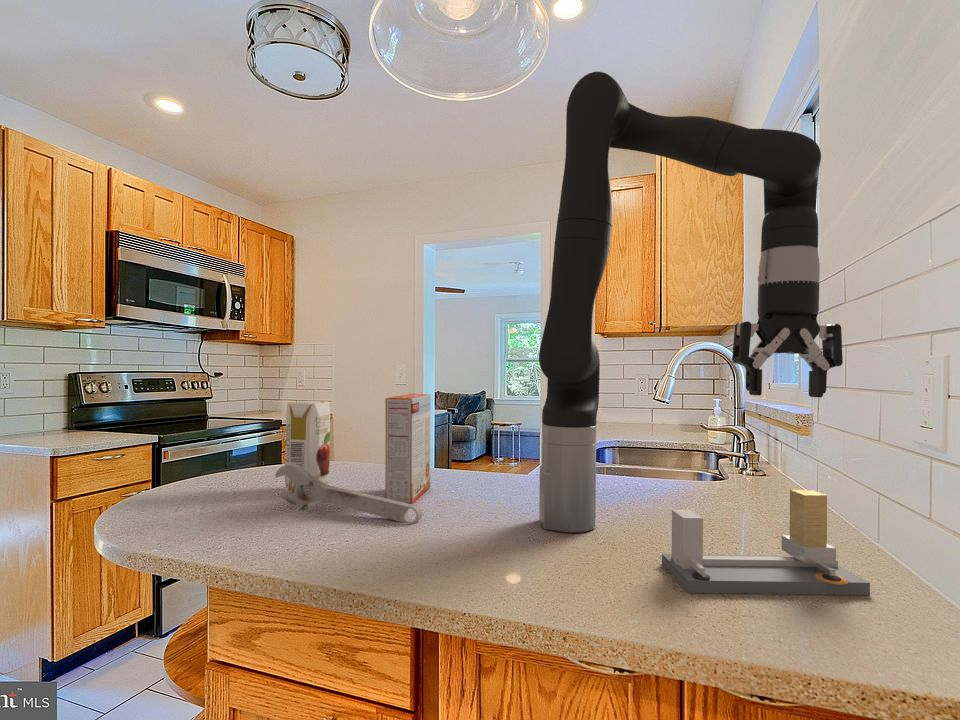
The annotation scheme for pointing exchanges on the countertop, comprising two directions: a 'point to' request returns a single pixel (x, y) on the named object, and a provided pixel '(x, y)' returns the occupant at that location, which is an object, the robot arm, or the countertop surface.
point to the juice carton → (308, 438)
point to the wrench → (341, 496)
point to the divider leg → (809, 530)
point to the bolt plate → (747, 568)
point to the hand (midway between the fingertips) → (785, 396)
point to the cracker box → (407, 447)
